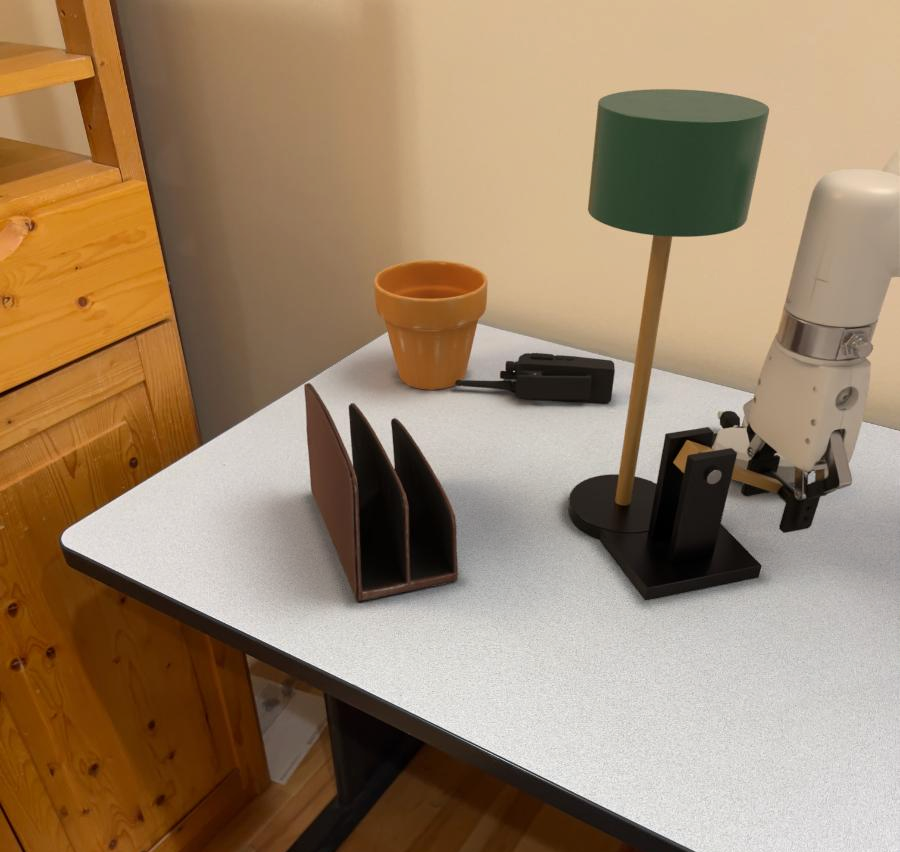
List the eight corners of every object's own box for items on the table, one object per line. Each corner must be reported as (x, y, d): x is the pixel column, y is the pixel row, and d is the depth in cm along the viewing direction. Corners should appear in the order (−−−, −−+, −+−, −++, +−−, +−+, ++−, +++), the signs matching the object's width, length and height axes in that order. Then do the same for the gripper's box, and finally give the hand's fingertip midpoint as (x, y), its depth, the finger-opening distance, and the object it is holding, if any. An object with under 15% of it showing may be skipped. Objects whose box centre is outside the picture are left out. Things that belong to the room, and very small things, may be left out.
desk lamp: (668, 480, 98) (740, 88, 74) (698, 549, 87) (793, 121, 63) (551, 482, 97) (585, 89, 73) (567, 552, 87) (614, 122, 63)
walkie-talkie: (616, 348, 109) (455, 341, 110) (613, 397, 108) (451, 389, 110) (611, 367, 115) (458, 359, 116) (608, 413, 114) (455, 405, 116)
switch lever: (764, 486, 87) (778, 466, 86) (793, 513, 84) (809, 492, 82) (665, 455, 81) (679, 432, 80) (692, 482, 77) (707, 459, 76)
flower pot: (427, 410, 110) (425, 308, 102) (357, 374, 118) (350, 277, 110) (506, 377, 118) (511, 280, 109) (436, 345, 126) (435, 252, 118)
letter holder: (356, 604, 81) (345, 470, 72) (311, 494, 95) (297, 371, 86) (459, 583, 83) (460, 451, 74) (399, 478, 98) (395, 357, 89)
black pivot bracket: (705, 521, 91) (730, 409, 83) (758, 578, 84) (792, 460, 76) (599, 541, 88) (614, 426, 80) (645, 601, 81) (667, 481, 73)
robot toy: (709, 431, 108) (690, 483, 96) (717, 396, 105) (698, 445, 94) (814, 450, 105) (807, 506, 93) (824, 414, 102) (819, 467, 90)
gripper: (932, 368, 69) (863, 554, 81) (802, 292, 82) (759, 462, 93) (851, 380, 68) (792, 568, 79) (731, 301, 80) (695, 472, 92)
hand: (774, 509), depth 86 cm, fingers open, 5 cm apart
